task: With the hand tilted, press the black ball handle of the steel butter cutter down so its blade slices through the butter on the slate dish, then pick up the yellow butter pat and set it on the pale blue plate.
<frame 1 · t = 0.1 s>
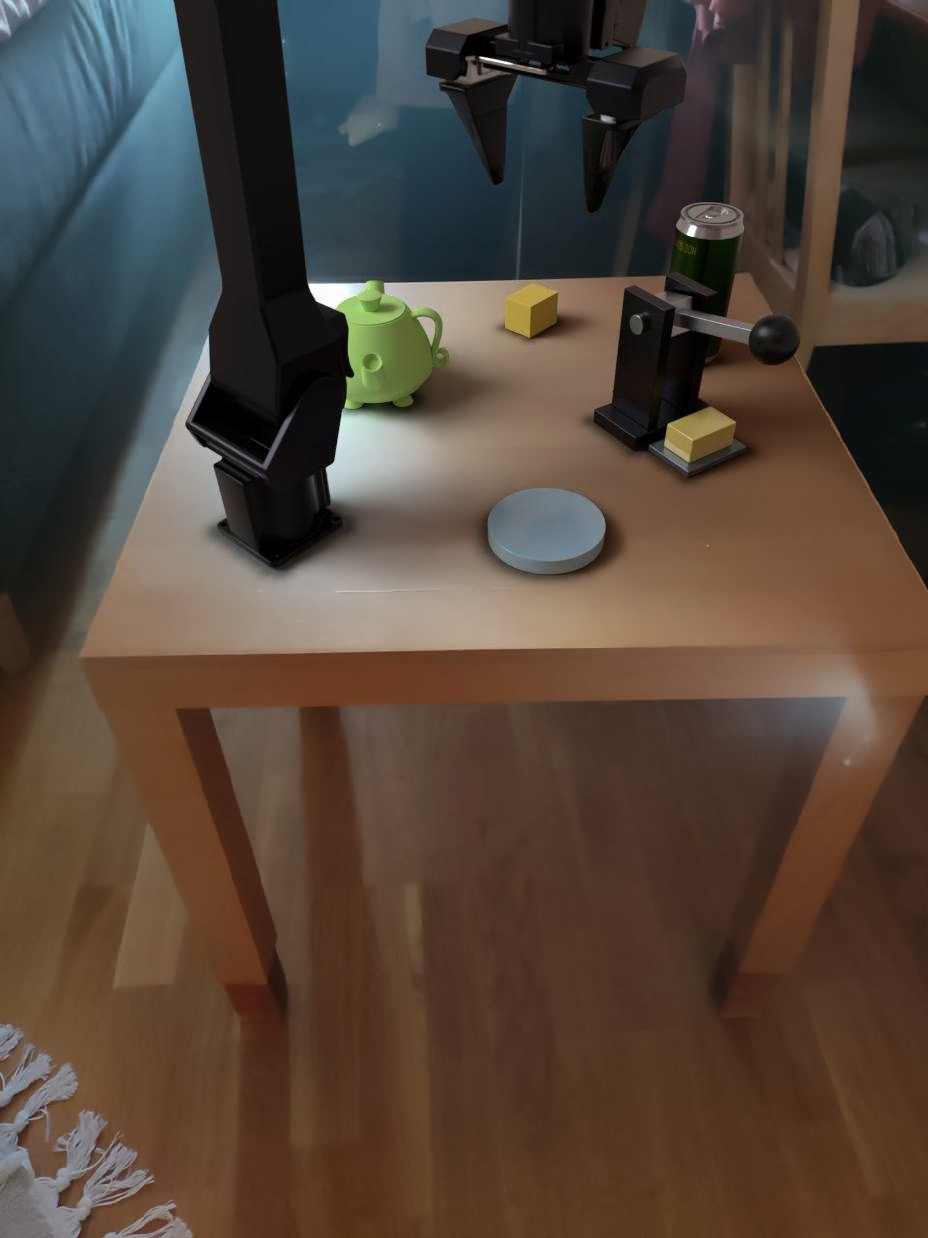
hand: (543, 196, 67), 15 cm above the table, tool pointing down, fingers open, 9 cm apart
butter dish: (696, 450, 68), on the table
beer can: (687, 354, 79), on the table
butter pat: (530, 325, 83), on the table
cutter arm: (718, 326, 61), point 10 cm above the table, hinge at 12.0°
plate: (545, 536, 61), on the table
teapot: (369, 392, 76), on the table
cutter: (651, 420, 71), on the table
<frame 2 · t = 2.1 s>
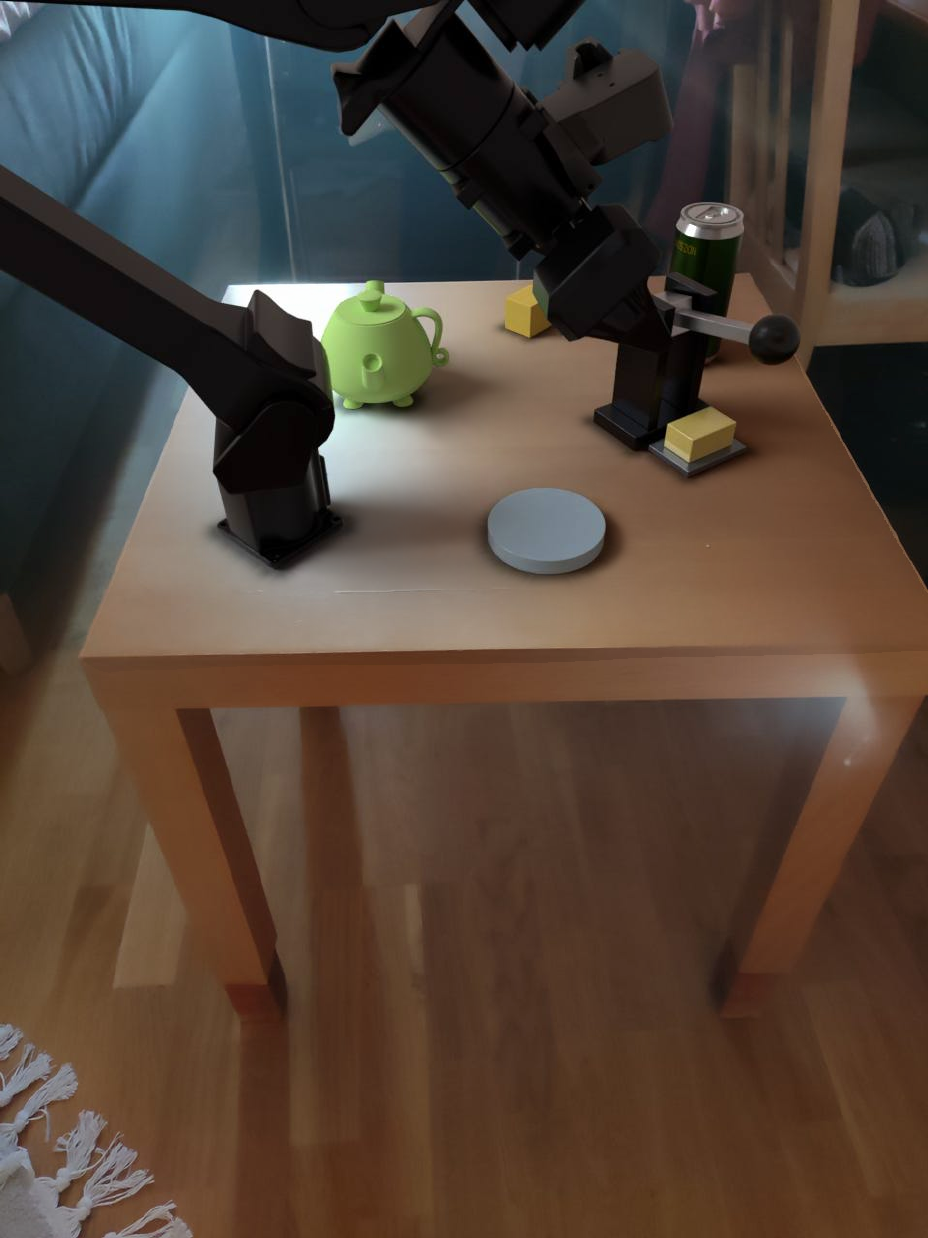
hand: (642, 312, 56), 13 cm above the table, tool tilted 45°, fingers open, 9 cm apart
nothing on the table moved.
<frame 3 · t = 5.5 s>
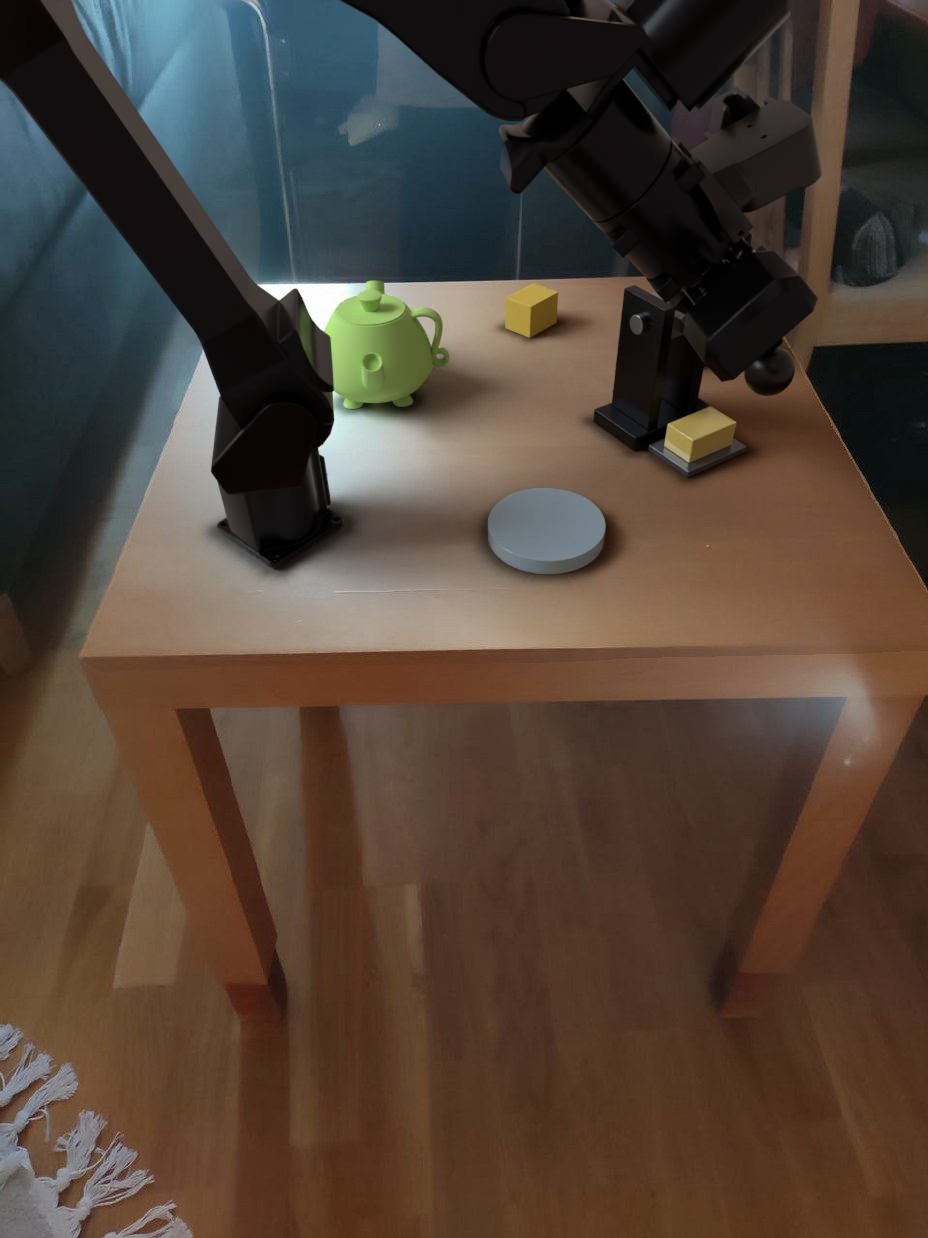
hand: (774, 345, 58), 11 cm above the table, tool tilted 45°, fingers closed
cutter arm: (716, 341, 62), point 9 cm above the table, hinge at -0.3°, touching gripper
everything else where it was.
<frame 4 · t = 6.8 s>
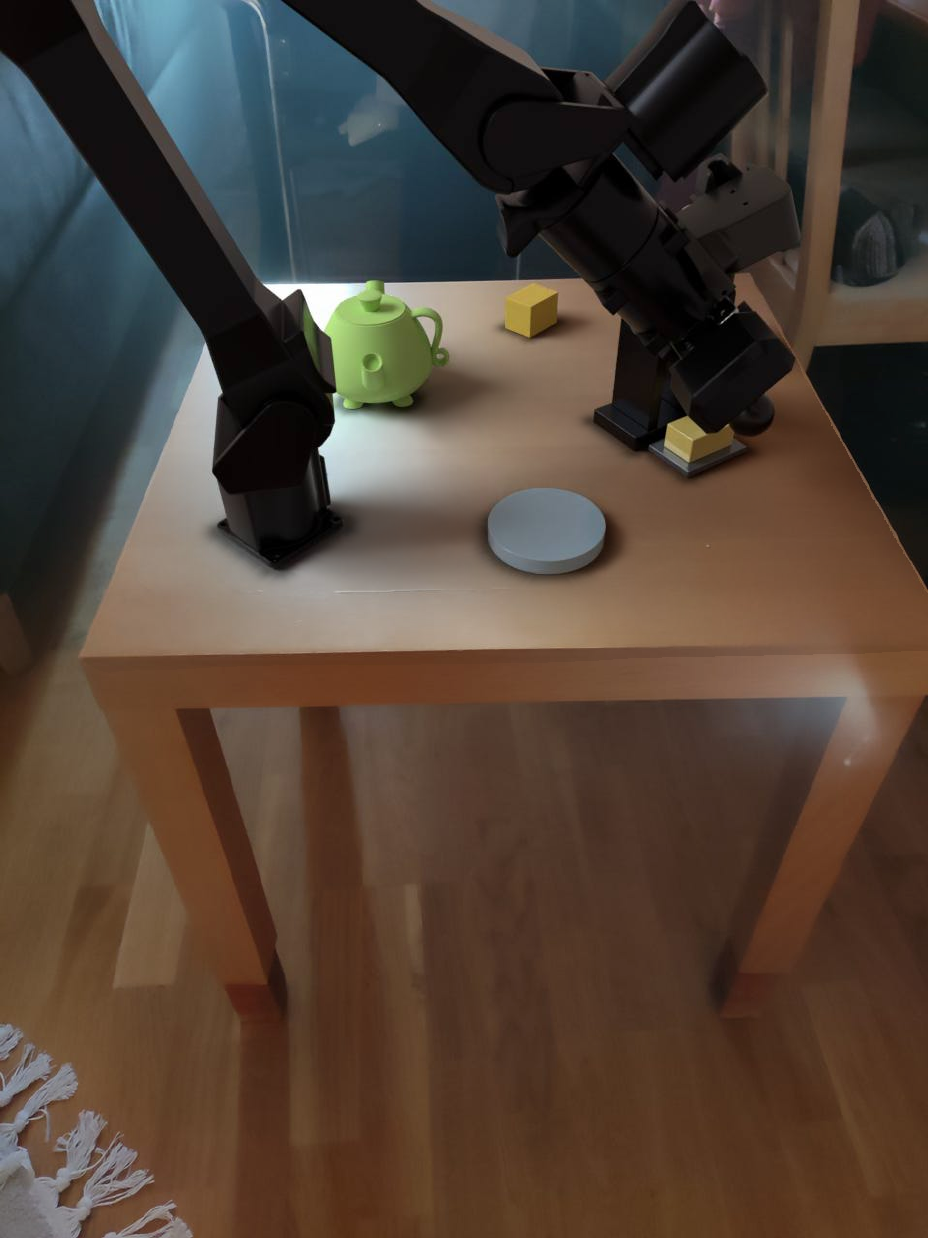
hand: (758, 391, 60), 7 cm above the table, tool tilted 45°, fingers closed
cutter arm: (708, 363, 63), point 7 cm above the table, hinge at -21.4°, touching gripper
everything else where it was.
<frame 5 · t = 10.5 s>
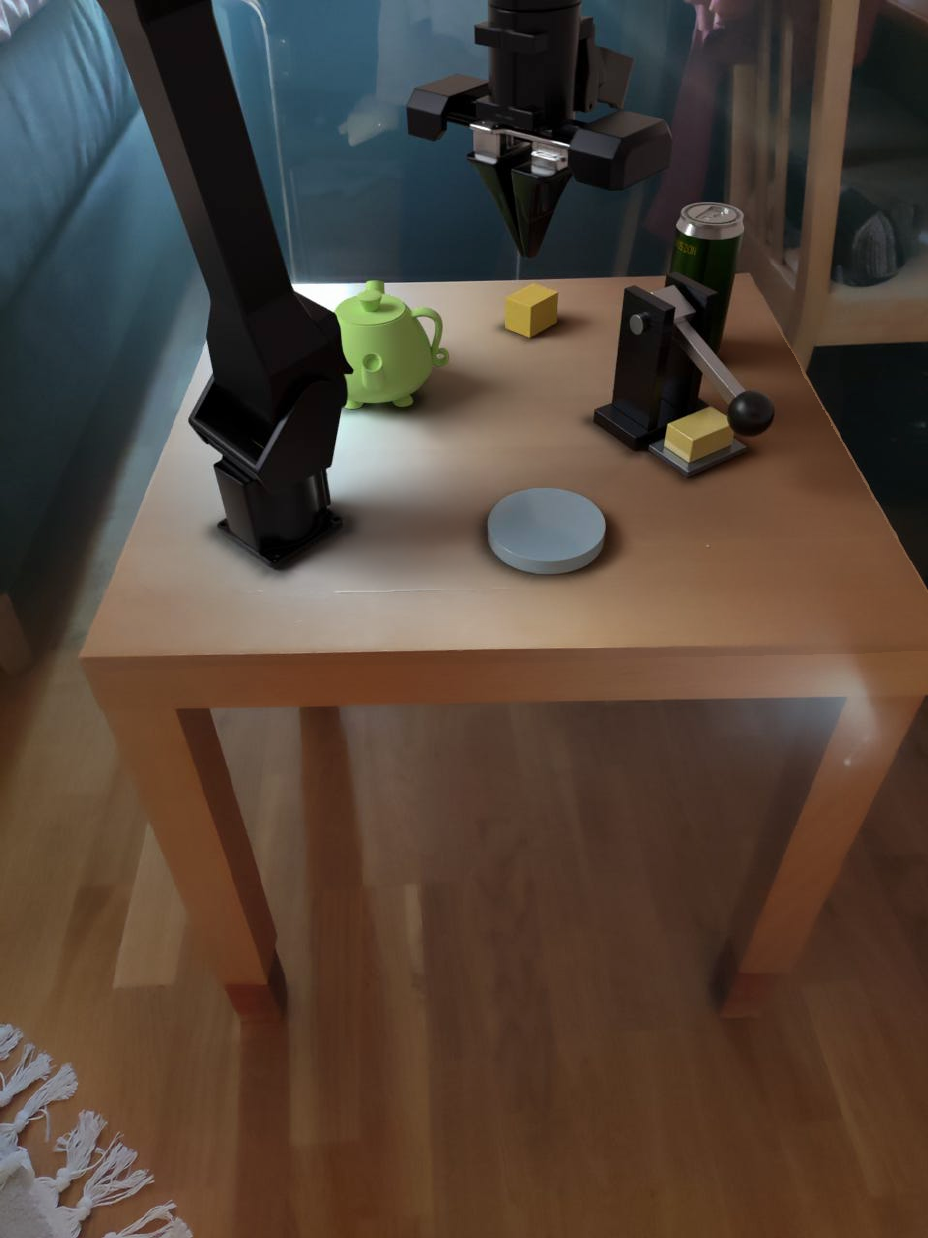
hand: (529, 256, 65), 12 cm above the table, tool pointing down, fingers closed
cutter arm: (708, 363, 63), point 7 cm above the table, hinge at -21.4°
everything else where it was.
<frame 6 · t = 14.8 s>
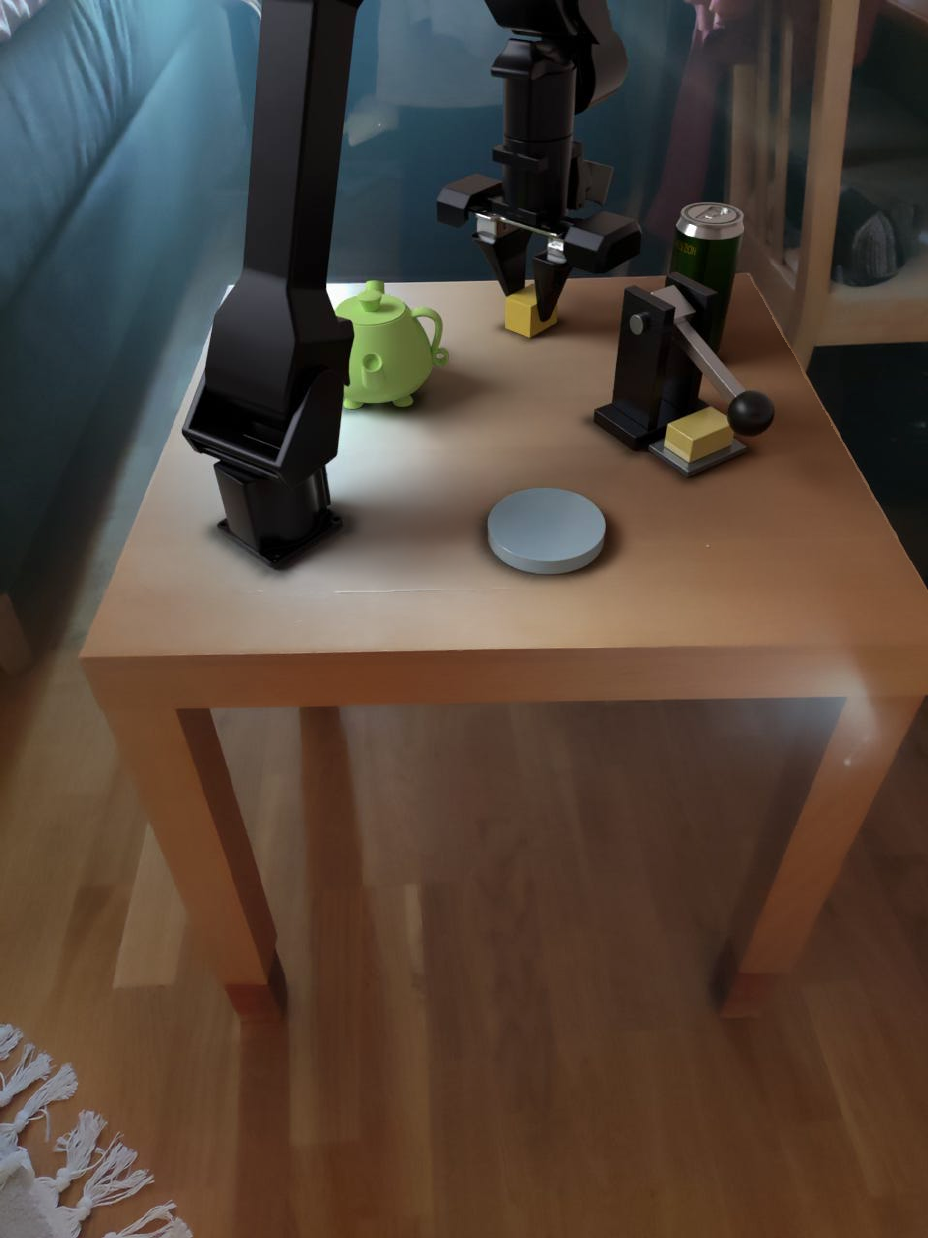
hand: (531, 315, 83), 1 cm above the table, tool pointing down, fingers closed on butter pat, 3 cm apart
butter pat: (530, 325, 83), on the table, touching gripper
everything else where it was.
when the fingers open (2 cm above the table, at t = 21.1 s): butter pat stays where it is, resting on plate.
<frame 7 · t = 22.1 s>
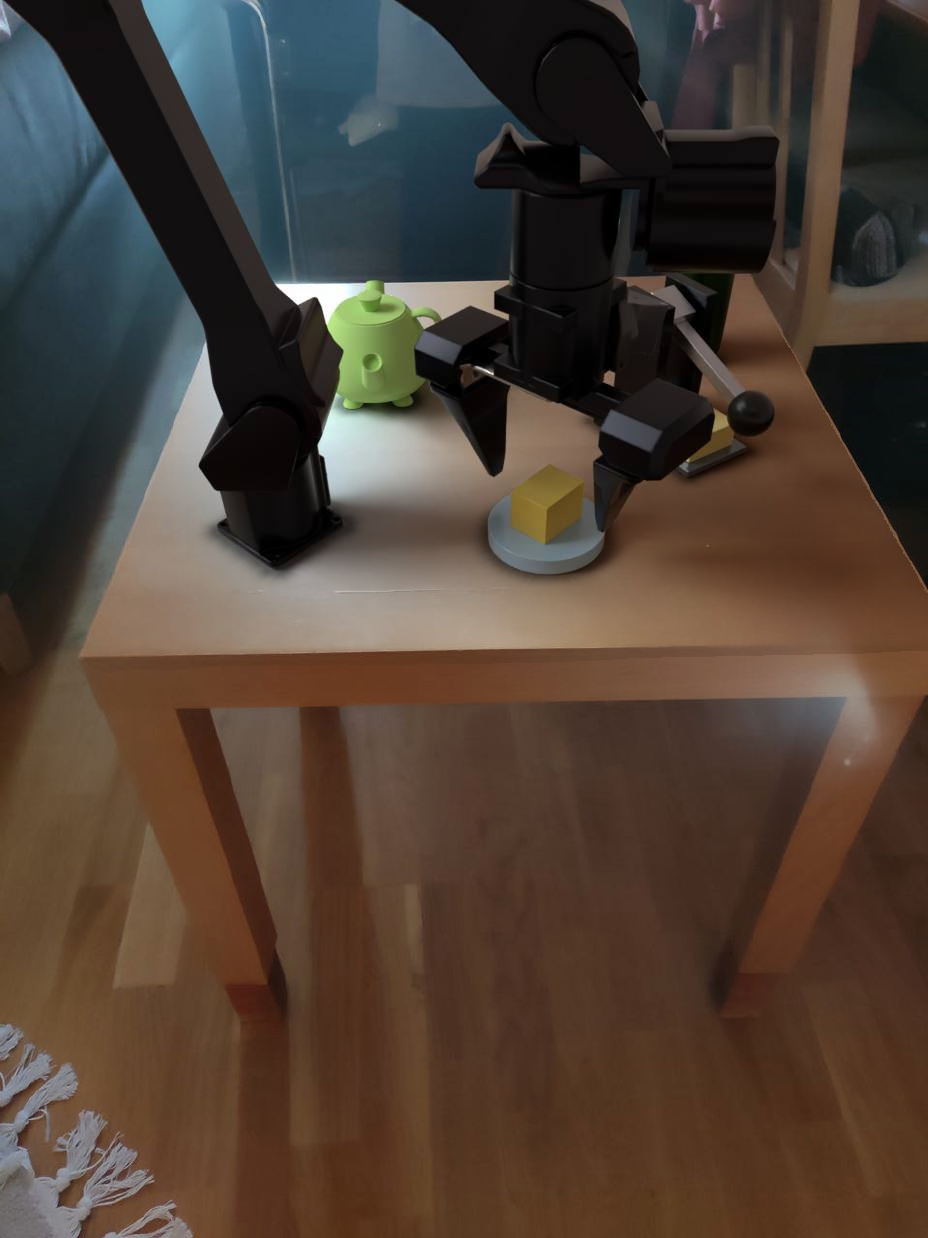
hand: (548, 500, 59), 3 cm above the table, tool pointing down, fingers open, 9 cm apart
butter pat: (546, 521, 60), point 1 cm above the table, touching plate
everything else where it was.
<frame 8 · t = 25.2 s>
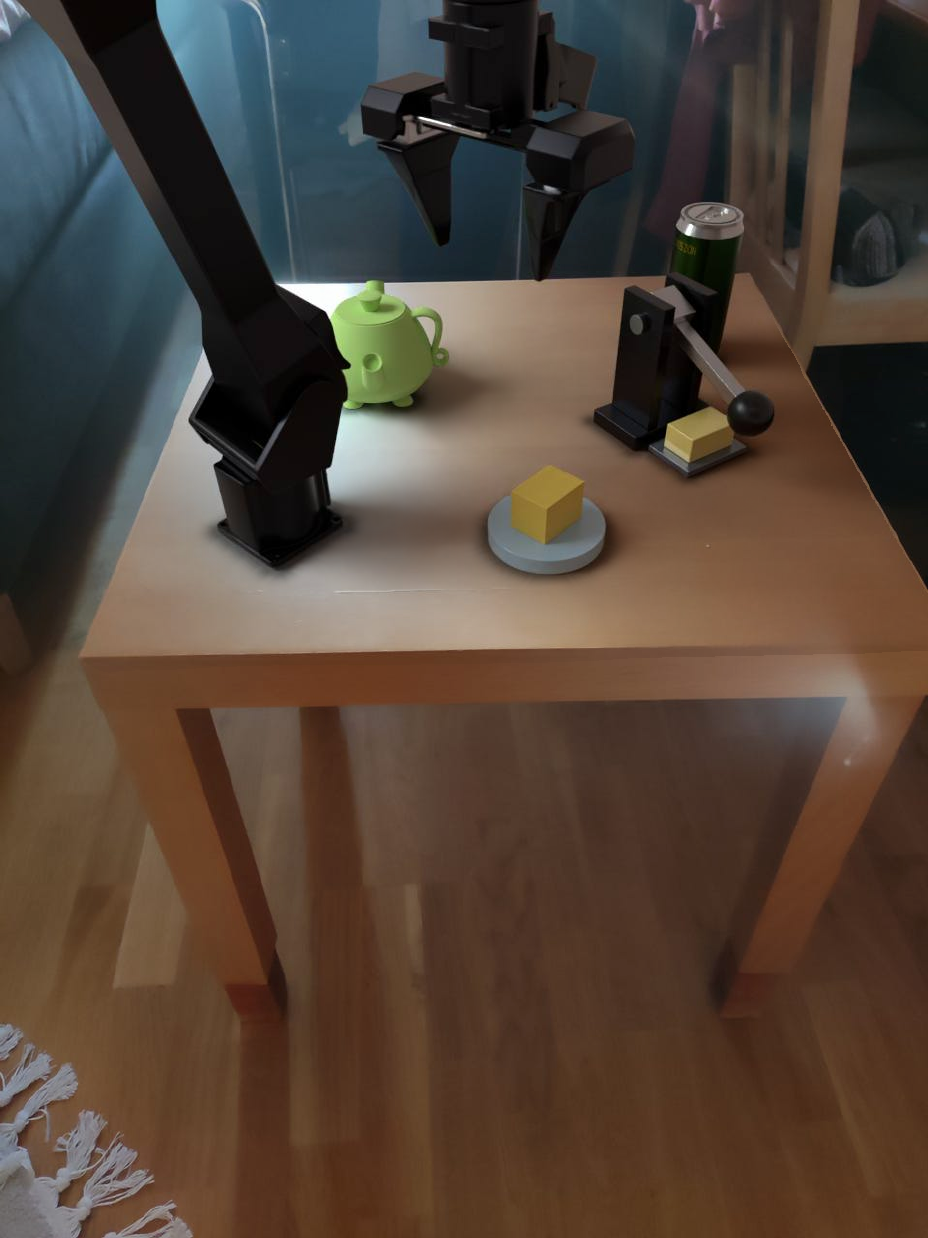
hand: (490, 261, 63), 13 cm above the table, tool pointing down, fingers open, 9 cm apart
nothing on the table moved.
at the end: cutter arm at -21° (first picture: +12°); butter pat 0.1 cm off-centre on the plate, point 1.2 cm above the plate's base; butter pat tilted 0° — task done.
